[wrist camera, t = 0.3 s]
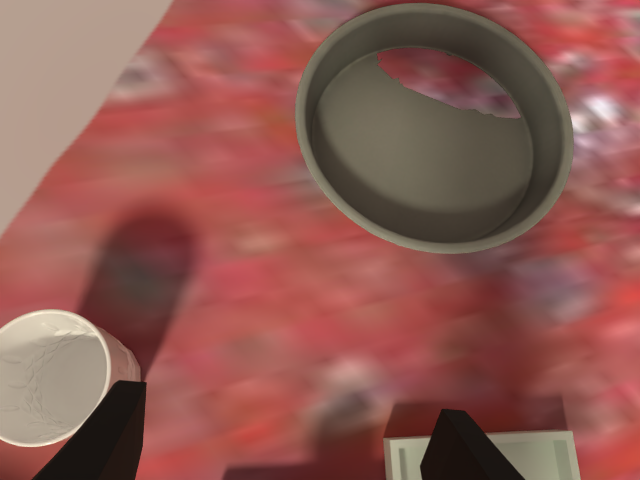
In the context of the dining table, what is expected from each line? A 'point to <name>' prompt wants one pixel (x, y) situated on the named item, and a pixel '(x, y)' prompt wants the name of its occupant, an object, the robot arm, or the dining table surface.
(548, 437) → the tray
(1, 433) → the white cup
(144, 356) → the dining table surface
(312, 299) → the dining table surface
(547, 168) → the cake pan
